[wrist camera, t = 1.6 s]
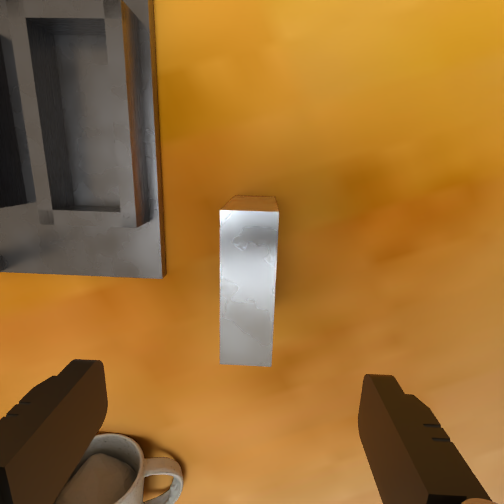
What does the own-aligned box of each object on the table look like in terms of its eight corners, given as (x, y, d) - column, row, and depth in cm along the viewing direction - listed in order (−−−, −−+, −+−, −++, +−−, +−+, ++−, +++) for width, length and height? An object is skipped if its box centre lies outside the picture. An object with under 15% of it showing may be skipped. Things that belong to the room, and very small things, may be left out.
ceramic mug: (82, 492, 32) (29, 590, 25) (76, 428, 30) (17, 514, 23) (185, 501, 32) (162, 601, 25) (186, 437, 30) (162, 526, 23)
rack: (150, -59, 20) (58, -235, 11) (166, 274, 26) (114, 330, 17) (-66, -60, 20) (-316, -228, 12) (-2, 267, 26) (-135, 318, 17)
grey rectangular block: (274, 196, 24) (279, 211, 16) (269, 307, 26) (271, 366, 18) (234, 195, 24) (220, 210, 16) (233, 305, 26) (219, 364, 18)
